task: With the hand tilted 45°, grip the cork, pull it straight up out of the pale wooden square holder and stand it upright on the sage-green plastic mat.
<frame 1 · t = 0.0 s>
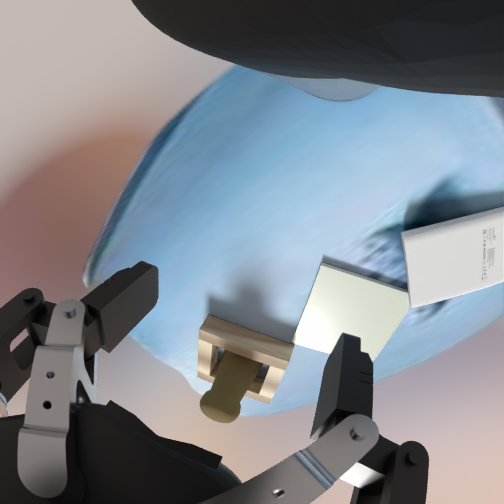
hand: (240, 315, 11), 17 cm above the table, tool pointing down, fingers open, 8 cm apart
external hard drive: (459, 253, 22), on the table, touching mat
holder: (244, 356, 39), on the table
cork: (244, 355, 40), resting in holder
mat: (350, 319, 30), on the table
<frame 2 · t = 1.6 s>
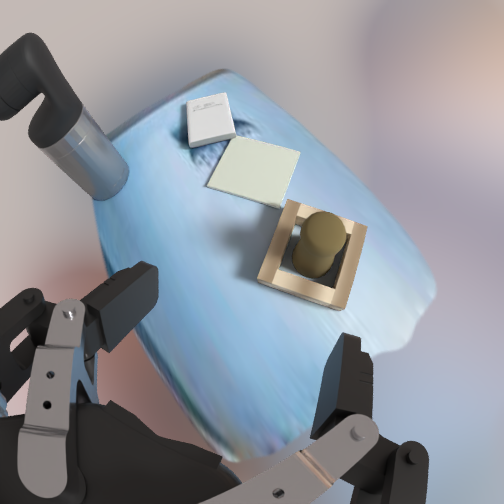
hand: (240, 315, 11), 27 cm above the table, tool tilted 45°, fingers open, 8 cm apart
external hard drive: (210, 121, 49), on the table, touching mat
holder: (312, 257, 40), on the table
cork: (312, 257, 40), resting in holder
mat: (255, 169, 45), on the table
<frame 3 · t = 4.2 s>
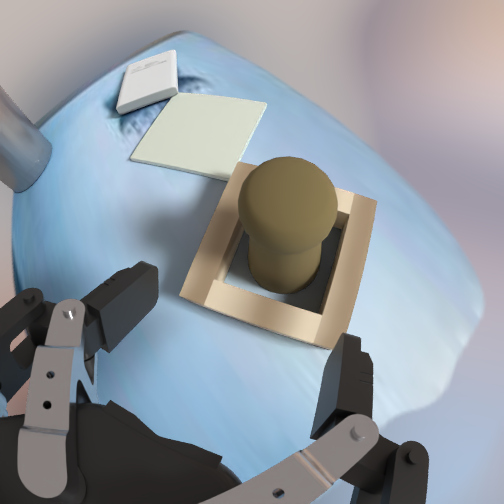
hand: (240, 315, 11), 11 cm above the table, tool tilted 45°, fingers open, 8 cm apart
external hard drive: (151, 82, 33), on the table, touching mat
holder: (284, 257, 23), on the table
cork: (284, 258, 23), resting in holder
mat: (199, 130, 29), on the table
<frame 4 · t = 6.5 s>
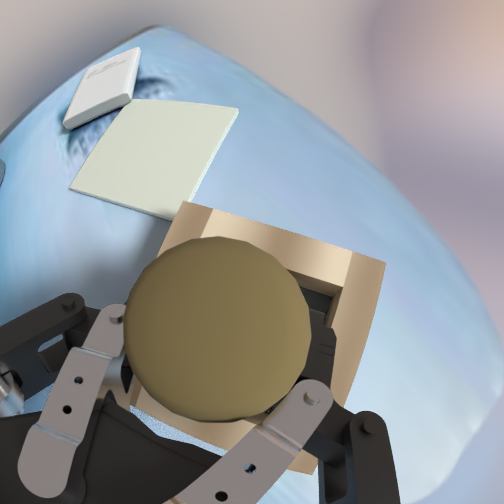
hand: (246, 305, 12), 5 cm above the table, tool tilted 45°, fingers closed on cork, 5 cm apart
external hard drive: (107, 88, 26), on the table, touching mat
holder: (247, 338, 16), on the table
cork: (248, 338, 17), resting in holder, touching gripper
mat: (149, 149, 22), on the table
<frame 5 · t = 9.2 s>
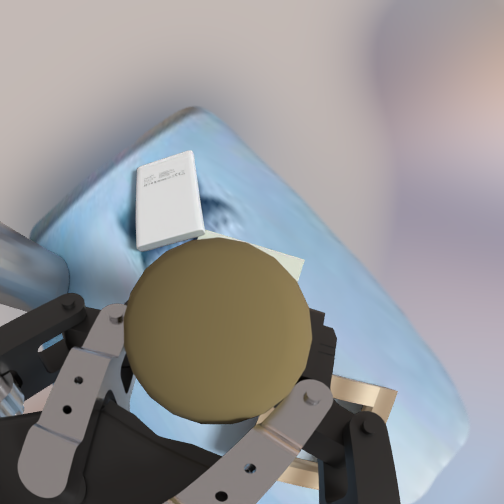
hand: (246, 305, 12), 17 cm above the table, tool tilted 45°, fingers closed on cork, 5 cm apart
external hard drive: (169, 201, 34), on the table, touching mat
holder: (316, 427, 24), on the table
cork: (248, 339, 16), point 12 cm above the table, touching gripper
mat: (234, 292, 30), on the table
when the fingers open (7 cm above the table, at t = 11.8 s): cork drops 1 cm, resting on mat.
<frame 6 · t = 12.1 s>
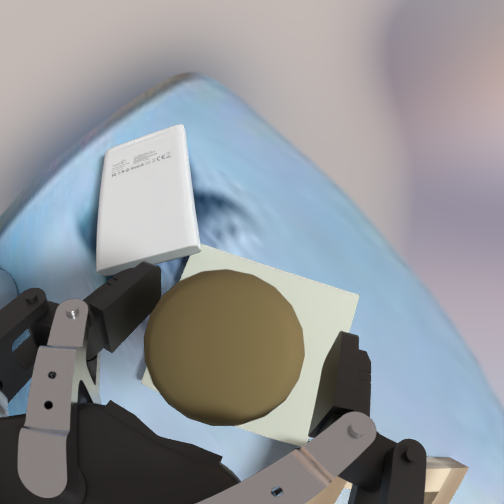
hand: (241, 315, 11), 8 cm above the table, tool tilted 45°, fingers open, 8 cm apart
external hard drive: (147, 198, 22), on the table, touching mat
cork: (250, 347, 18), resting on mat
mat: (248, 346, 18), on the table
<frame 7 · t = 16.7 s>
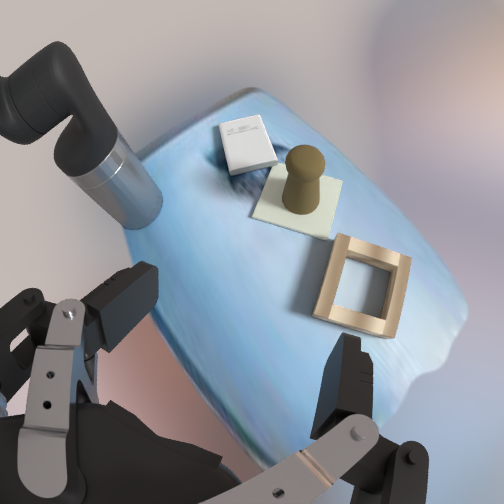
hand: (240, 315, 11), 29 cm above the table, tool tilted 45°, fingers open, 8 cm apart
external hard drive: (246, 146, 49), on the table, touching mat
holder: (361, 289, 39), on the table
cork: (300, 198, 44), resting on mat
mat: (299, 199, 44), on the table
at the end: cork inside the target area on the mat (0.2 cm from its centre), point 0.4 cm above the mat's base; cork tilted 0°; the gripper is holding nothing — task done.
